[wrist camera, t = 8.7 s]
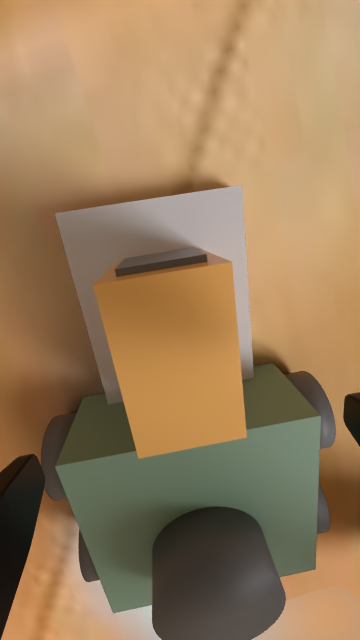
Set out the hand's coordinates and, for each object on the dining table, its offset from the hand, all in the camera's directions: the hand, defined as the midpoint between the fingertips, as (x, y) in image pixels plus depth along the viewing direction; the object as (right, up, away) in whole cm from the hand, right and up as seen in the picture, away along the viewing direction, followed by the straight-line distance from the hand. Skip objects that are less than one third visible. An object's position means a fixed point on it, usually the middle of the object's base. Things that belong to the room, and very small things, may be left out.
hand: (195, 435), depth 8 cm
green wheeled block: (0, -1, +12) cm, 12 cm away
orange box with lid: (-1, +3, +9) cm, 9 cm away
